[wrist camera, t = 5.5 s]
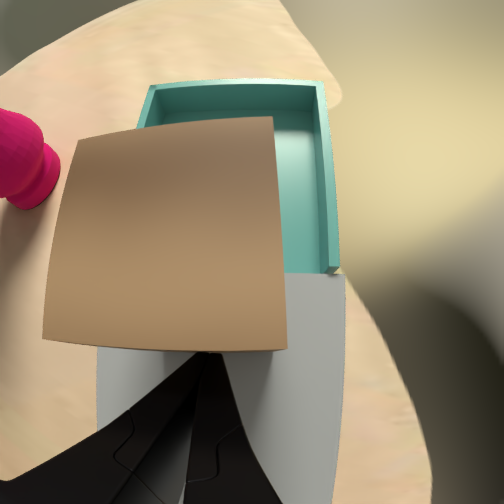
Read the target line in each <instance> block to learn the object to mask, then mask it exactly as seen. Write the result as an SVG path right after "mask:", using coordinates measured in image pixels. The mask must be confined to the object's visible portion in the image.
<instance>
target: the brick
mask: <svg viewBox="0 0 504 504" xmlns="http://www.w3.org/2000/svg"><path fill="white" fill-rule="evenodd" d="M42 339H46V340H53V341H59V342H67V343H74V344H82V345H90V346H99V347H109V348H119V349H131V350H144V351H159V352H188V353H196V352H209V353H211V352H213V353H247V352H274V351H280V350H285V349H288V344H287V320H286V298H285V279H284V261H283V245H282V229H281V214H280V200H279V187H278V174H277V161H276V149H275V138H274V127H273V116H268V117H243V118H227V119H214V120H202V121H192V122H183V123H174V124H166V125H159V126H152V127H145V128H139V129H133V130H127V131H121V132H116V133H110V134H105V135H100V136H95V137H91V138H86V139H82V140H78V144H77V147H76V150H75V153H74V156H73V159H72V163H71V166H70V170H69V173H68V177H67V180H66V184H65V188H64V192H63V196H62V200H61V204H60V208H59V213H58V218H57V222H56V227H55V232H54V238H53V243H52V249H51V255H50V262H49V269H48V276H47V284H46V294H45V304H44V317H43V336H42Z"/></svg>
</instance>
